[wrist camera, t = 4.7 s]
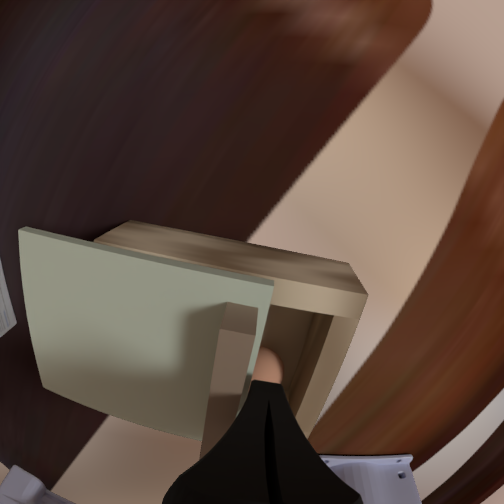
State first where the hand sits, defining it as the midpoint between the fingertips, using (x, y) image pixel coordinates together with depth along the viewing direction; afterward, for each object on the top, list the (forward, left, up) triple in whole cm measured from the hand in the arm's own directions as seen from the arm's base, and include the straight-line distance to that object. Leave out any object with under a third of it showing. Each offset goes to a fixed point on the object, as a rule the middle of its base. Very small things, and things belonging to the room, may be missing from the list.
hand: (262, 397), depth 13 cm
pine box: (+2, 0, -6) cm, 6 cm away
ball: (0, +2, -5) cm, 5 cm away
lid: (+7, 0, -1) cm, 7 cm away
